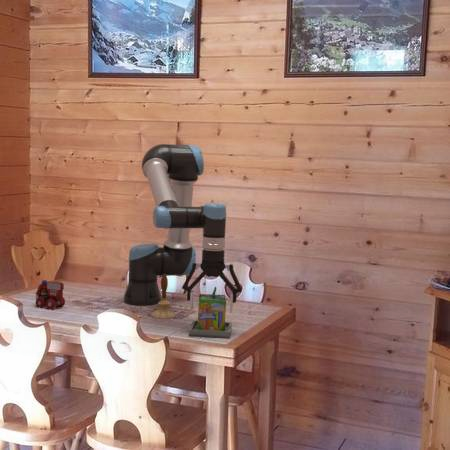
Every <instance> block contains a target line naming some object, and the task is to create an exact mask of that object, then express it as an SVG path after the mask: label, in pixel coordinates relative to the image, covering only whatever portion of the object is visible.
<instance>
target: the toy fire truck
mask: <svg viewBox="0 0 450 450" xmlns="http://www.w3.org/2000/svg"><path fill="white" fill-rule="evenodd" d="M64 288H65V287H64V282H60V281H52V280H51V281H47V279H43V280H42V281H41V283H40V284H38V288H37V290H36V293H35V306H36V307H37V308H39V307H40V308H39V309H43V308H45V306H46V308H47V310H50V309H51V310H54V309H56V307H58V308H62V307H64V306H65V303H66V299H65V297H63V296H64V295H63V294H64V293H63V292H64Z"/></svg>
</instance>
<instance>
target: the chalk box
mask: <svg viewBox="0 0 450 450" xmlns="http://www.w3.org/2000/svg"><path fill="white" fill-rule="evenodd" d="M216 292H217V287H216V286H214V288H213V291H212V294H207V293H199V294H198V307H197V308H198V311H197V312H198V313H197V321H198V330H212V331H225V322H226V309H227V308H226V307H227V299H226V295H225V294H216Z"/></svg>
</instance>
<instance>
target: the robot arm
mask: <svg viewBox="0 0 450 450" xmlns="http://www.w3.org/2000/svg"><path fill="white" fill-rule="evenodd" d="M202 152H203V151H202V150H201V149H200V147H199V146H198V145H193V144H192V145H191V144H169V143H168V144H166V143H161V144H157V145H154V146H153V147H150V149H149V150H147V152H146V153H145V154H144V155H143V158H142V161H141V170H142V174H143V176H144V177H145V178H146V179H147V181H148V184H149V188H150V190H151V194H152V197H153V200H154V204H155V207H154V209H153V212H152V213H153V214H152V220H153V225H154V227H155V228H157V229H165V230H167V229H168V230H167V239H166V240H164V241H163V247H159V244H157V243H142V244H137V245H134V246H132V247H131V248H130V249H129V252H128V284H127V286H126V289H125V293H124V295H123V302H124V303H125V304H128V305H133V306H152V305H158V302H160V301H161V300H162V293H161V290H160V287H159V284H158V277H162V276H163V274H166V276H167V277H168V276H170V277H171V276H172V277H173V276H175V277H177V276H179V277H181V276H187V277H186V279H185V281H184V283H183V284H182V286H181V289H182V290H184V291H186V294H187V295H186V299H187V301H189V311H190V312H192V311H193V310H194V290H193V289H194V288H195V287H196V285H197V284H199V282H200V281H201V280H202V279H203V278H205V276H206V277H208V278H210V277H213V278H218V277H220V278H221V280H222V281H223V282H224V283H225V284H226V286H227V287H228V289H229V290H230V291H231V292H230V301H229V303H230V304H229V313H230V314H232V313H233V307H234V306H233V304H236V302H237V294H238V293H241V292H242V290H243V287H242V286H241V283H240V281H239V278H238V277H237V275H236V272H235V270H234V264H233V263H230V264H226V263H225V252H226V251H225V250H224V249H225V248H226V224H227V223H226V221H227V207H226V204H224V203H218V202H217V203H216V202H212V203H211V202H209V203H205V204H204V205H201V206H192V205H193V193H194V184H195V183H197V182H198V179H199V177H200V176H202V175H203V173H204V169H205V168H204V164H205V162H204V157H203V153H202ZM190 229H202V250H201V251H202V253H201V254H202V255H201V263H199V262H196V259H197V256H196V255H197V254H196V253H197V252H196V248H195V247H193V244H192V243H191V241H190ZM199 268H200V269H201V272H200V274H199V275H198V277H196V278H195V279H194V281H193V282H192V283H191V284H190V285H188V284H189V283H190V281H191V279H192V277H193V275H194V273H196V270H198V269H199ZM225 269H226V270H227V271H228V272H229V274H230V276H231V278H232V280H233V282H234V285H235V286H236V287H235V286H234V285H233V283H232V282H231V281H230V280H229V278H228V277H227V275H226V274H225V273H224V271H225Z"/></svg>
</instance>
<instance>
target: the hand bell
mask: <svg viewBox="0 0 450 450" xmlns="http://www.w3.org/2000/svg"><path fill="white" fill-rule="evenodd" d="M168 286H169V281H168V276H166V274H163V276H161V280H160V287H161V301H160V302H158V304H157V307H156V310H155V311H154V313H153V314H152V318H154V319H157V320H171V319H174V318H175V314H174V313H173V312H172V309H171V302H169V301H168V299H167V291H168Z"/></svg>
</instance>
